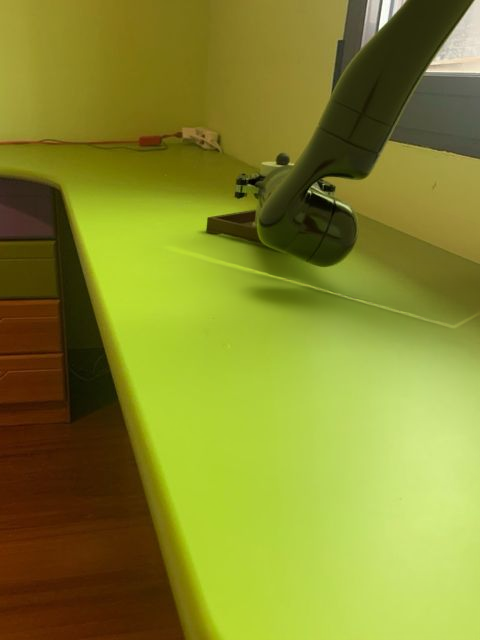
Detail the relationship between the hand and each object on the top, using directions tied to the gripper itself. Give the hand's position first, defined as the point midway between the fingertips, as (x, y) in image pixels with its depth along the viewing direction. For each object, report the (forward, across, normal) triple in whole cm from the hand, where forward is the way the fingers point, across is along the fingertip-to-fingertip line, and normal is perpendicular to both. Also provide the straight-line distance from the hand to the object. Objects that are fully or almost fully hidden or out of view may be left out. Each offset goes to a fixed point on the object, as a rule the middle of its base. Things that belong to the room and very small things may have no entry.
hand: (277, 181), depth 103 cm
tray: (-2, 0, +7) cm, 8 cm away
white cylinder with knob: (-3, 0, +6) cm, 7 cm away
